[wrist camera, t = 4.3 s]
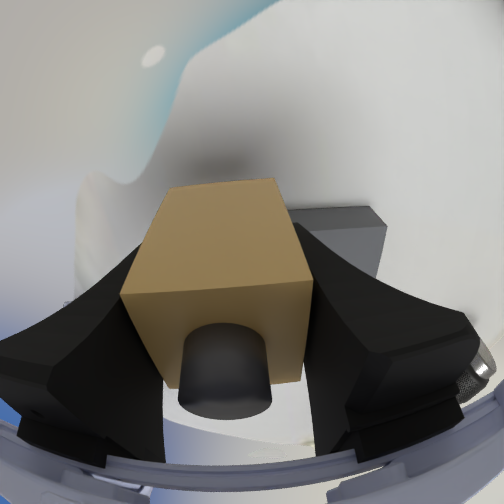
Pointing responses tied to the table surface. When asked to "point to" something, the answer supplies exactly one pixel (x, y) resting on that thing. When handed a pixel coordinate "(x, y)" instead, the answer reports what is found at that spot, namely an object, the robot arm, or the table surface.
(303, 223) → the socket housing
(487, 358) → the muzzle brake
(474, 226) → the table surface
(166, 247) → the plug
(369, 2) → the table surface
